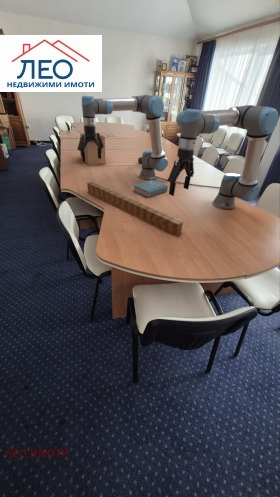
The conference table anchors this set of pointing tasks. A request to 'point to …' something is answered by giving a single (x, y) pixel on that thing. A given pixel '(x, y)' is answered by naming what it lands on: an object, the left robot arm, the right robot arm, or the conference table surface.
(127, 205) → the bar
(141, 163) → the laser sight
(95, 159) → the box
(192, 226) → the conference table surface
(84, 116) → the left robot arm
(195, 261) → the conference table surface
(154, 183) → the book
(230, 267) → the conference table surface
